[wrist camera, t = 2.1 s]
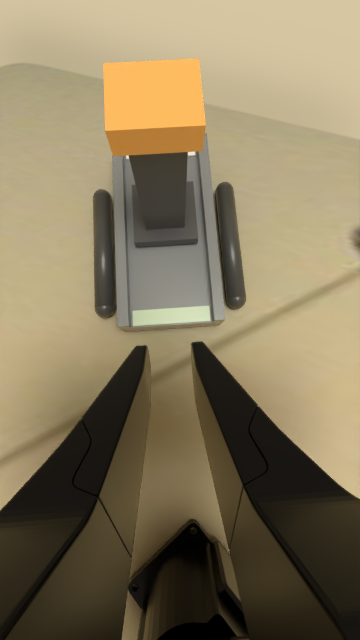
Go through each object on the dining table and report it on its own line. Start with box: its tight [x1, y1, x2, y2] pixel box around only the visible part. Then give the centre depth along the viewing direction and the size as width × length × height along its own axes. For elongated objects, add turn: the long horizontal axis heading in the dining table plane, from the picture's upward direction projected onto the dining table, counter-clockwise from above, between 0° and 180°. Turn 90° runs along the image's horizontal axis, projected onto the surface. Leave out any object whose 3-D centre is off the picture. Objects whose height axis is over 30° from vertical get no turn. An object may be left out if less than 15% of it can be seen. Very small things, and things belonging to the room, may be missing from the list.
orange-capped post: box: [103, 58, 206, 247], centre depth 17 cm, size 5×5×10 cm
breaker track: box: [93, 133, 246, 332], centre depth 22 cm, size 16×13×3 cm
